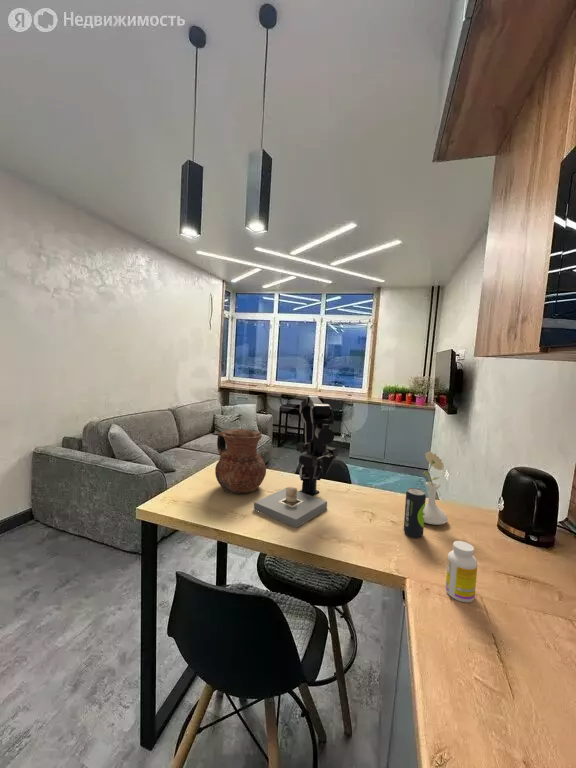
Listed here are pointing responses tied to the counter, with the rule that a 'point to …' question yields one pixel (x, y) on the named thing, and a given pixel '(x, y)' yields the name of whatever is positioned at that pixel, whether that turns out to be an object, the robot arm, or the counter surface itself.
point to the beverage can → (414, 512)
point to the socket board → (290, 507)
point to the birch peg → (291, 495)
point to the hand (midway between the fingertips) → (318, 477)
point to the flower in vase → (433, 494)
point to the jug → (239, 461)
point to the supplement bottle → (461, 572)
